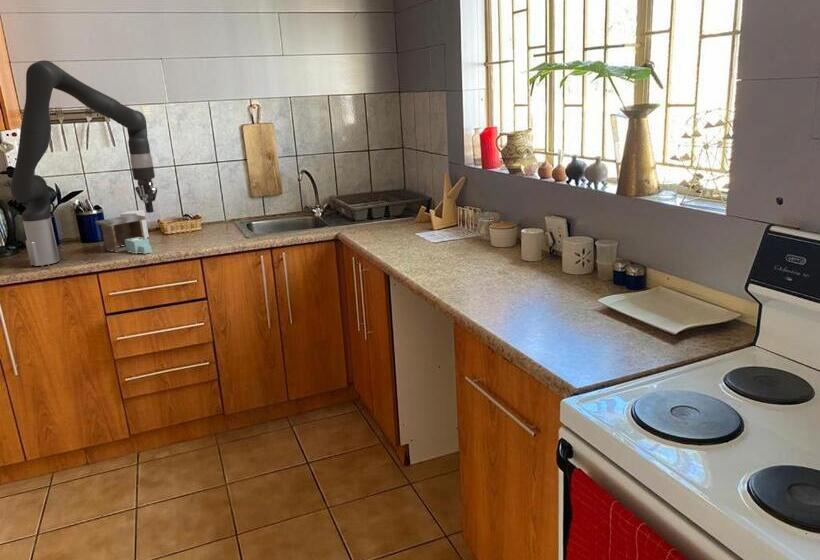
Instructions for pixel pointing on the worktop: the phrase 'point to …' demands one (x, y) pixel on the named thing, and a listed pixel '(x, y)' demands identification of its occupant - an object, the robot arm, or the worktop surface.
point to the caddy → (138, 245)
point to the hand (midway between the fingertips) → (149, 212)
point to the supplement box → (144, 224)
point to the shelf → (121, 230)
